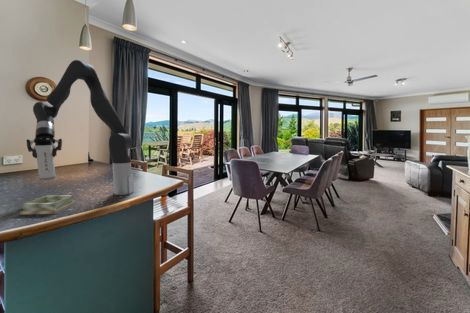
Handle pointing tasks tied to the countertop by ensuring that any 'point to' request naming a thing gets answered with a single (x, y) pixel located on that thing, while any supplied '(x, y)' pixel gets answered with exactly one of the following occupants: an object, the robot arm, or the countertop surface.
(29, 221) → the countertop surface
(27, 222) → the countertop surface
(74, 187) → the countertop surface
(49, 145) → the travel mug
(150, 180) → the countertop surface
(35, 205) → the green square tray
